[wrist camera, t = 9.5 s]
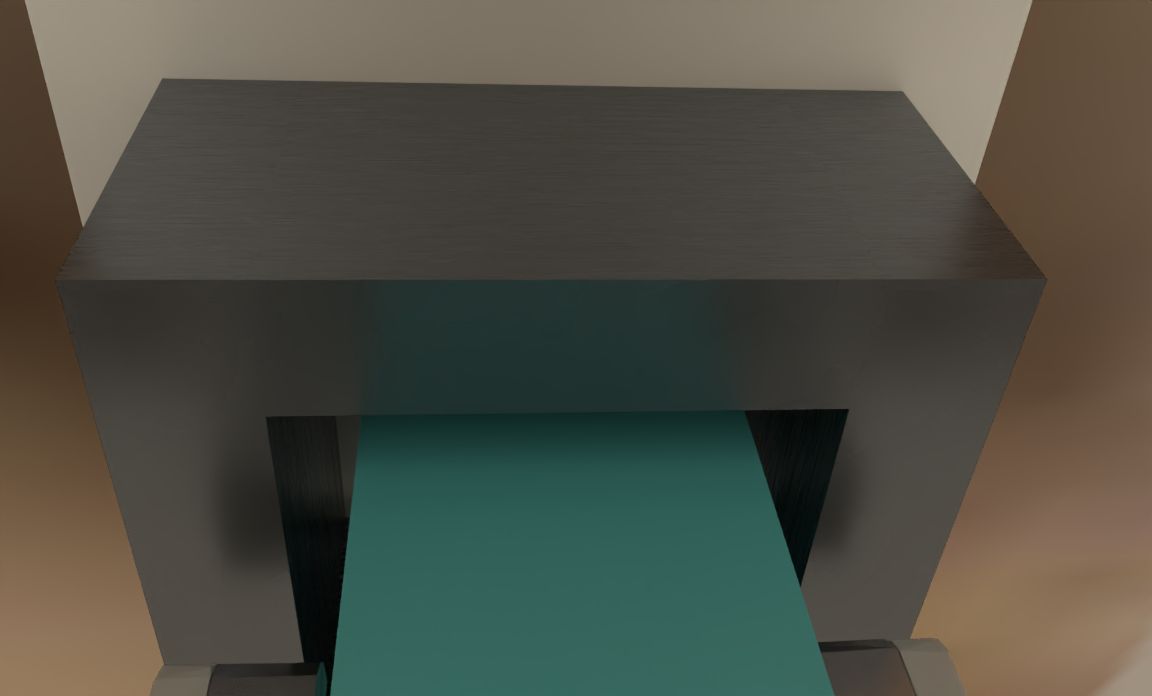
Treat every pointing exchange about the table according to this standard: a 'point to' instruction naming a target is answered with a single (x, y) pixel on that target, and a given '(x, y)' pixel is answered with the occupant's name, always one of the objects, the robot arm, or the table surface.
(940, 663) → the robot arm
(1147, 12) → the table surface
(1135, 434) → the table surface
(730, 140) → the port
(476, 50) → the board
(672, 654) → the plug
